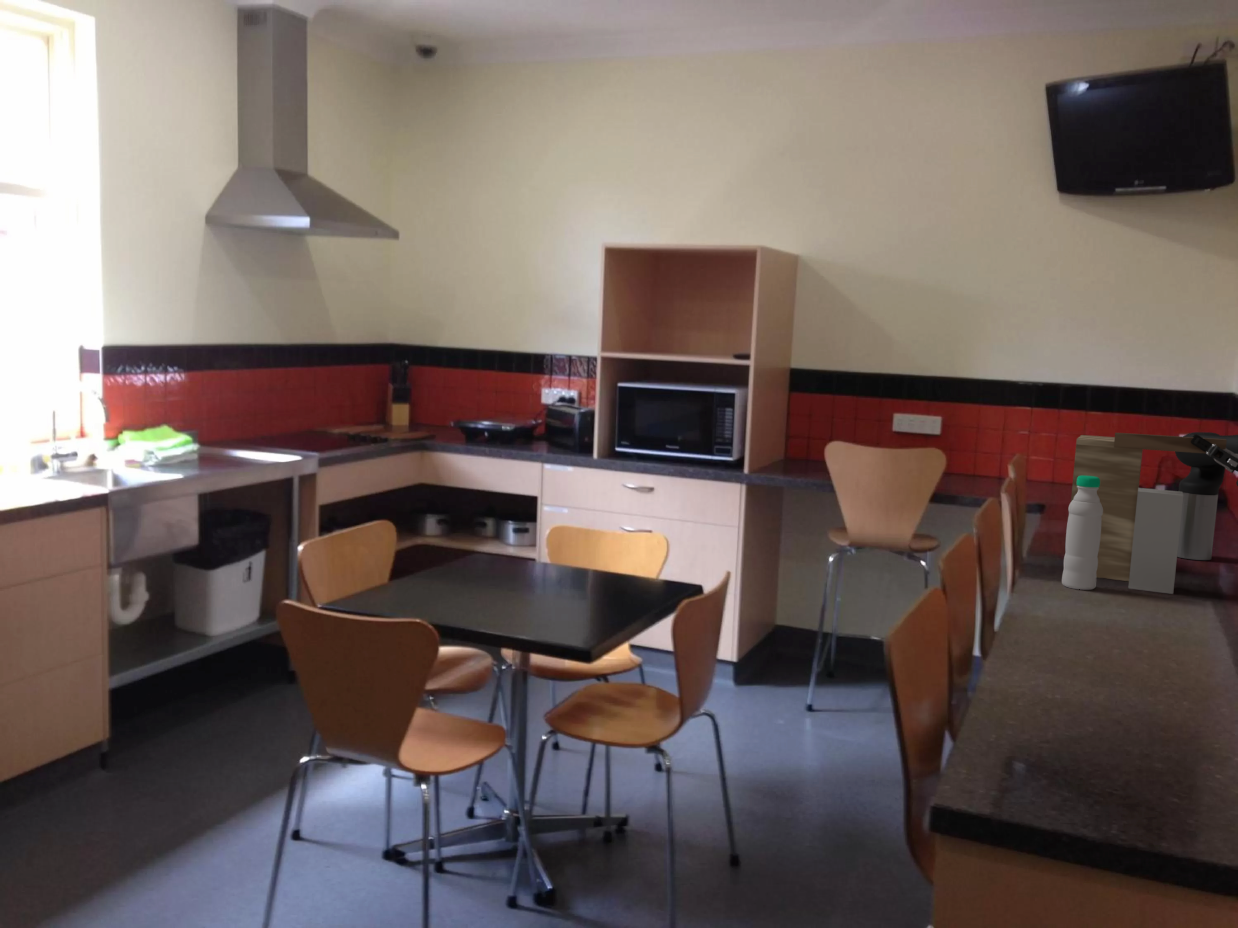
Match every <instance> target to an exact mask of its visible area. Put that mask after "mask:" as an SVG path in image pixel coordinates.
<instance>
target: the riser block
mask: <svg viewBox="0 0 1238 928" xmlns="http://www.w3.org/2000/svg"><path fill="white" fill-rule="evenodd" d="M1182 504H1183V492H1180V491H1179V490H1178V491H1177V490H1166V489H1155V488H1143V487H1139V488H1138V495H1137V505H1136V515H1135V525H1134V536H1133V546H1132V556H1131V566H1130V576H1129V581H1128V589H1129V590H1137V591H1138V590H1139V591H1146V592H1154V593H1163V594H1170V595H1174V589H1175V580H1176V579H1175V578H1176V569H1177V560H1178V557H1177V552H1178V542H1179V533H1180V523H1181V513H1182Z"/></svg>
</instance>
